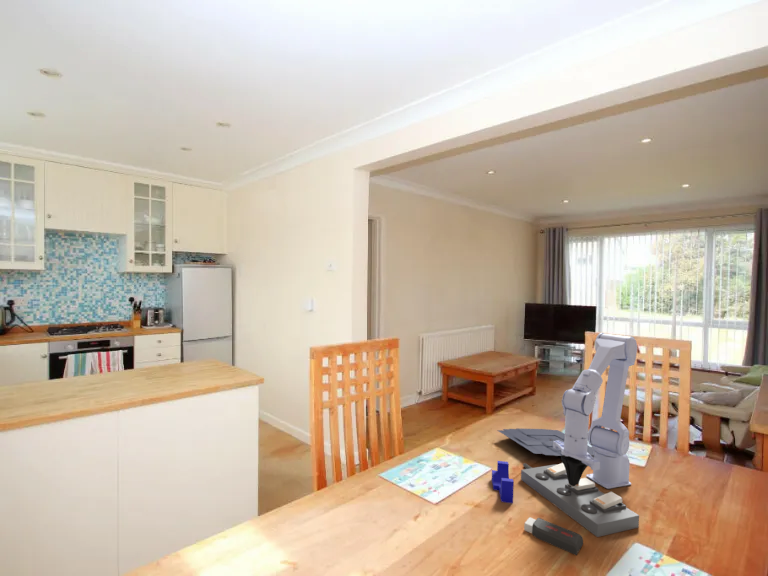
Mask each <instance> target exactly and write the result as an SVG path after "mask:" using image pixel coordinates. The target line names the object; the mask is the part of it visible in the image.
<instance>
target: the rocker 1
mask: <svg viewBox="0 0 768 576" xmlns="http://www.w3.org/2000/svg"><path fill="white" fill-rule="evenodd" d="M554 465H555V464H554ZM547 472H548V473H550V474H551V475H553V476H554V477H555V476H559V475H562V474H564V473H566V469H565V466H564V464H563V462H561V463H559V464H557V465H555V466H553V467H550V468H547Z"/></svg>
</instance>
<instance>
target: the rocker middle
mask: <svg viewBox="0 0 768 576" xmlns="http://www.w3.org/2000/svg"><path fill="white" fill-rule="evenodd" d="M569 485H570V484H569ZM570 486H571V485H570ZM572 487H573V488H575V489H576V490H582V489H587V488H592V487H596V482H595V481H593V480H591V479H590V478H588V477H582V478H580V481H579V484H576V485H575V486H572Z"/></svg>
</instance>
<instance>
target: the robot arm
mask: <svg viewBox="0 0 768 576" xmlns="http://www.w3.org/2000/svg"><path fill="white" fill-rule="evenodd" d="M594 349H595V353H594V355H593V358H592V360H591V363H590V365H589V367H588V369H583V370H582V371H581V372H580V374H579V376H578V377H577V379H576V381H575V382H574V384H573V385H572V388H569V389H566V390H565V391H564V392H563V394H562V397H561V398H562V399H561V405H562V410H563V416H565V419H564V434H565V436H564V443H563V442H561V441H559V440H558V441H553V448H555V449H559V450H561V454H563V455H564V456H560V460H561V463H563V464H564V466H565V469H566V473H567V477H568V482H569V484H570V485H571V486H575V485H576V484H579V481H580V479H581V477H582V476H583V474H584V472H585V470H586V469H587V467H589V468H590V469H591V470H592V473H589V474H586V475H585V478H587V479H589V480H590V481H592V482H594V483H595V484H598V485H600V486H601V487H604V488H605V489H607V490H610V489H615V488H621V487H626V486H631V485H632V482H631V481H629V480H630V458H629V456H628V455H627V453H628V450H629V447H630V430H628V428H627V427H626V426H625V424H623V423H622V421H621V416H622V410H623V404H624V398H625V392H626V385H627V380H628V372H629V367H631V366H635V365H636V364H635V363H636V360H637V353H638V344H637V339H635V337H634V336H627V335H620V334H619V335H618V334H610V333H605V332H600V333H598V334H597V335H596V337H595V341H594ZM608 367H609V370H608V376H607V380H606V388H605V393H604V400H603V405H602V412H601V416H600V417H598V418H596V419H594V420H591V424H590V427H589V423H590V421H589V420H590V415H591V414H592V412H593V410H594V408H595V402H596V399H597V398H596V395H597V393H598V391H599V389H600V388H601V386H602V384H603V381H604V380H603V378H602V375H603V374H604V372H605V371H606V370H607V368H608ZM588 444H589V445H588ZM587 445H588V446H590V447H592V449H593V450H594V455H590V454H589V453H588V452H587Z"/></svg>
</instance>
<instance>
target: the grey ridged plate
mask: <svg viewBox="0 0 768 576" xmlns="http://www.w3.org/2000/svg"><path fill="white" fill-rule="evenodd" d="M496 431H497V432H499V433H501V435H504V436H505V437H507V438H508V439H510V440H512V441H514V442H516V443H517V444H518V445H520V446H521V447H523V448H525V449H526V450H528V451H530V452H531V453H533V454H534V455H535V454H536V455H537V454H540V455H541V454H542V455H545V456H555V457H558V456H560V457H561V456H564V455H563V454H561V450H559V449H555V448H553V441H558V440H559V441H561V442H563V443H564V436H565V432H562V431H560V430H558V429H548V428H547V429H546V428H502V430H499V429H498V430H496ZM587 452H588V453H589V454H590V455H591V456H594V450H593V449H592V446H591V445H587Z"/></svg>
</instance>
